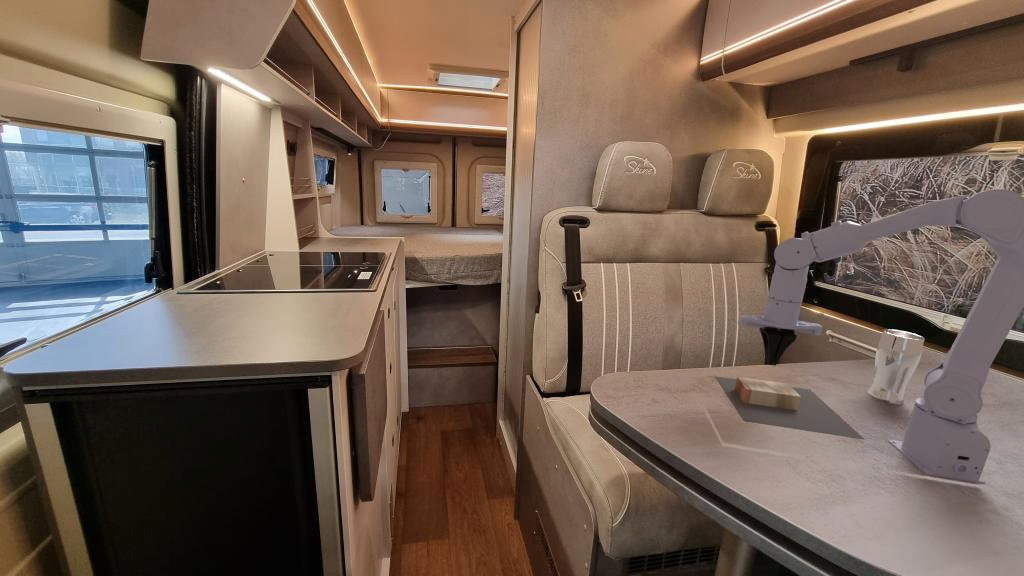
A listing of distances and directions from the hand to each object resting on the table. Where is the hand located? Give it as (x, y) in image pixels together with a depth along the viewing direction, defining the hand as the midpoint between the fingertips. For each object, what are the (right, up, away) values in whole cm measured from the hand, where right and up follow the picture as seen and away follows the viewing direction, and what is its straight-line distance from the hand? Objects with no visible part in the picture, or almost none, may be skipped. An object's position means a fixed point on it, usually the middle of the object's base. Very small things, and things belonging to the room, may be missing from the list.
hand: (770, 363), depth 86 cm
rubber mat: (+2, -9, 0) cm, 9 cm away
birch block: (+5, -7, +1) cm, 8 cm away
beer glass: (+30, -9, +7) cm, 32 cm away
